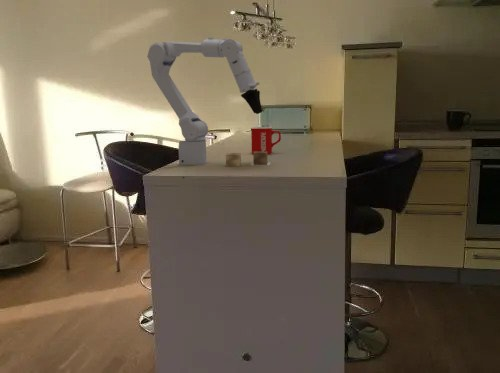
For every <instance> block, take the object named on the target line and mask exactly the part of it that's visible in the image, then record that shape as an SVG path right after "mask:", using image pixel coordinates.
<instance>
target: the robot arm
mask: <svg viewBox="0 0 500 373" xmlns="http://www.w3.org/2000/svg"><path fill="white" fill-rule="evenodd" d="M183 53H184V54H185V53H186V54H192V53H194V54H195V53H196V54H198V53H199V54H202V55H203V57H204V58H226V60H227V63H228V66H229V67H230V70H231V72H232V74H233V77H234V80H235V82H236V84H237V87H238V90H239V93H240V96H241V98H242V99H244V100H245V102H246V103H247V104H248V105H249V108H250V109H251V110H252V112H253V113H254V114H256V115H258V114H259V115H260V114H261V113H263V107H262V103H261V96H260V95H261V94H260V93H261V92H260V90H258V88H257V86H258V85H260V84H261V83H260V82H259V81H257V82H256V81H255V79H254V76H253V73H252V71H251V69H250V67H249V64H248V62H247V60H246V58H245V56H244V53H243V45H242V43H240V42H239V41H238V40H235V39H227V37H223V38H222V39H219V38H218V39H214V37H210V36H209V37H207V38H206V39H205V38H204V40H202V42H187V41H164V42H161V43H160V42H154V43H153V44H151V45H150V46H149V49H148V52H147V56H146V57H147V59H148V61H149V64H150V65H149V66H150V71H151V76H152V79H153V80H154V82H155V83H156V85H157V87H158V88H159V90H160V91H161V93H162V94H163V96H164V97H165V98H166V100H167V102H168V103H169V105H170V107H171V108H172V110H173V112H174V114H176V116H177V117H178V125H179V127H180V130H181V136H182V137H183V138H184V140H180V141H179V142H178V165H179V166H186V165H187V166H188V165H189V166H201V165H205V164H207V162H208V161H207V143H206V142H207V140H206V136H207V135H208V132H209V127H208V124H207V123H206V122H205V121H203V120H202V119H201V117H200V116H199V115H198V114H197V113H195V112H193V110H192V109H191V107H190V105H189V104H188V102H187V101H186V99H185V98H184V96H183V94H182V93H181V91H180V90H179V88H178V87H177V85H176V83H175V81H174V80H173V79H172V77H171V76H170V70H171V68H172V66H173V65H174V63H175V61H176V59H177V57H180V56H181V55H182V54H183Z"/></svg>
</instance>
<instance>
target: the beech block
mask: <svg viewBox="0 0 500 373" xmlns="http://www.w3.org/2000/svg"><path fill="white" fill-rule="evenodd" d="M241 161H242V153H241V152H227V153H226V154H225V167H227V168H228V167H229V168H230V167H241V165H242V162H241Z"/></svg>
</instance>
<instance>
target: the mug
mask: <svg viewBox="0 0 500 373" xmlns="http://www.w3.org/2000/svg"><path fill="white" fill-rule="evenodd" d="M272 129H273V126H257V127H256V126H252V127H250V131H251V134H250V135H251V155H253V153H254V151H267V156H268V155H271V154H273V147H275V145H277V144H278V143H280V142H281V140H282V133H281V131H279V130H272ZM276 133H278V139H277V140H276V141H275V142H273V135H274V134H276Z"/></svg>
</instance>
